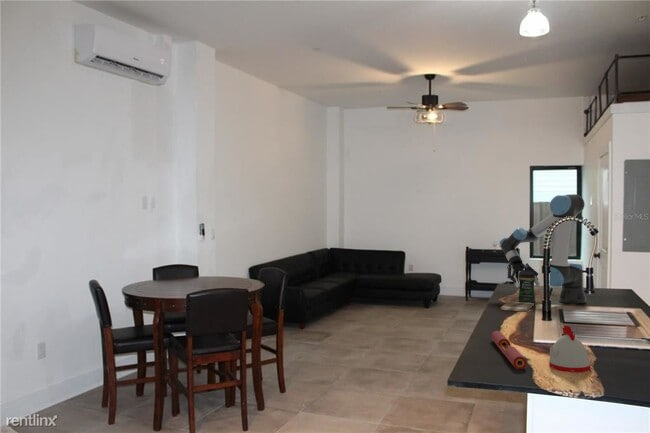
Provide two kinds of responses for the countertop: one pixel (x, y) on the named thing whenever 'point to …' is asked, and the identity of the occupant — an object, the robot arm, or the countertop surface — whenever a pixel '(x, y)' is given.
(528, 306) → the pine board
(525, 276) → the coffee jar
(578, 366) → the grey hat
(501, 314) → the countertop surface
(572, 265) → the robot arm
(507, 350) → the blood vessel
